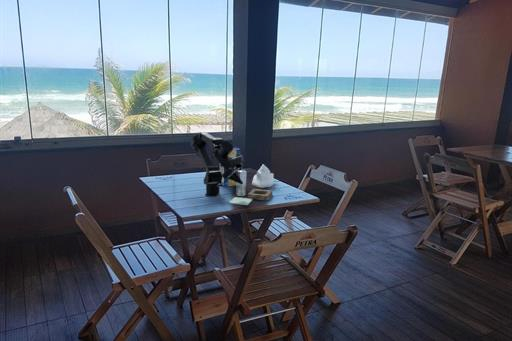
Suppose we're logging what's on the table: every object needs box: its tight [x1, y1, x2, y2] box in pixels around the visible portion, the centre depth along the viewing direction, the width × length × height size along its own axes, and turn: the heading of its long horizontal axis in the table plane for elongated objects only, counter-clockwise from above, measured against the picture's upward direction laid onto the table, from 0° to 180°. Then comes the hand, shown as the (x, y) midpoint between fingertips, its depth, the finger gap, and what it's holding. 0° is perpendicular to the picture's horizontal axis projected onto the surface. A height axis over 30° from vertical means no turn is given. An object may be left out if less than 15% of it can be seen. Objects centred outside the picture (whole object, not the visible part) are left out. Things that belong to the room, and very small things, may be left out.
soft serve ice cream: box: [251, 164, 274, 189], centre depth 228 cm, size 12×15×14 cm
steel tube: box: [235, 169, 247, 197], centre depth 194 cm, size 5×5×12 cm
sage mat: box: [228, 196, 254, 206], centre depth 196 cm, size 10×10×1 cm
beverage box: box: [219, 147, 242, 187], centre depth 227 cm, size 7×11×22 cm, turn 118°
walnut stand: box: [247, 188, 273, 201], centre depth 205 cm, size 11×11×2 cm
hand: (243, 182), depth 194 cm, fingers closed on steel tube, 5 cm apart
